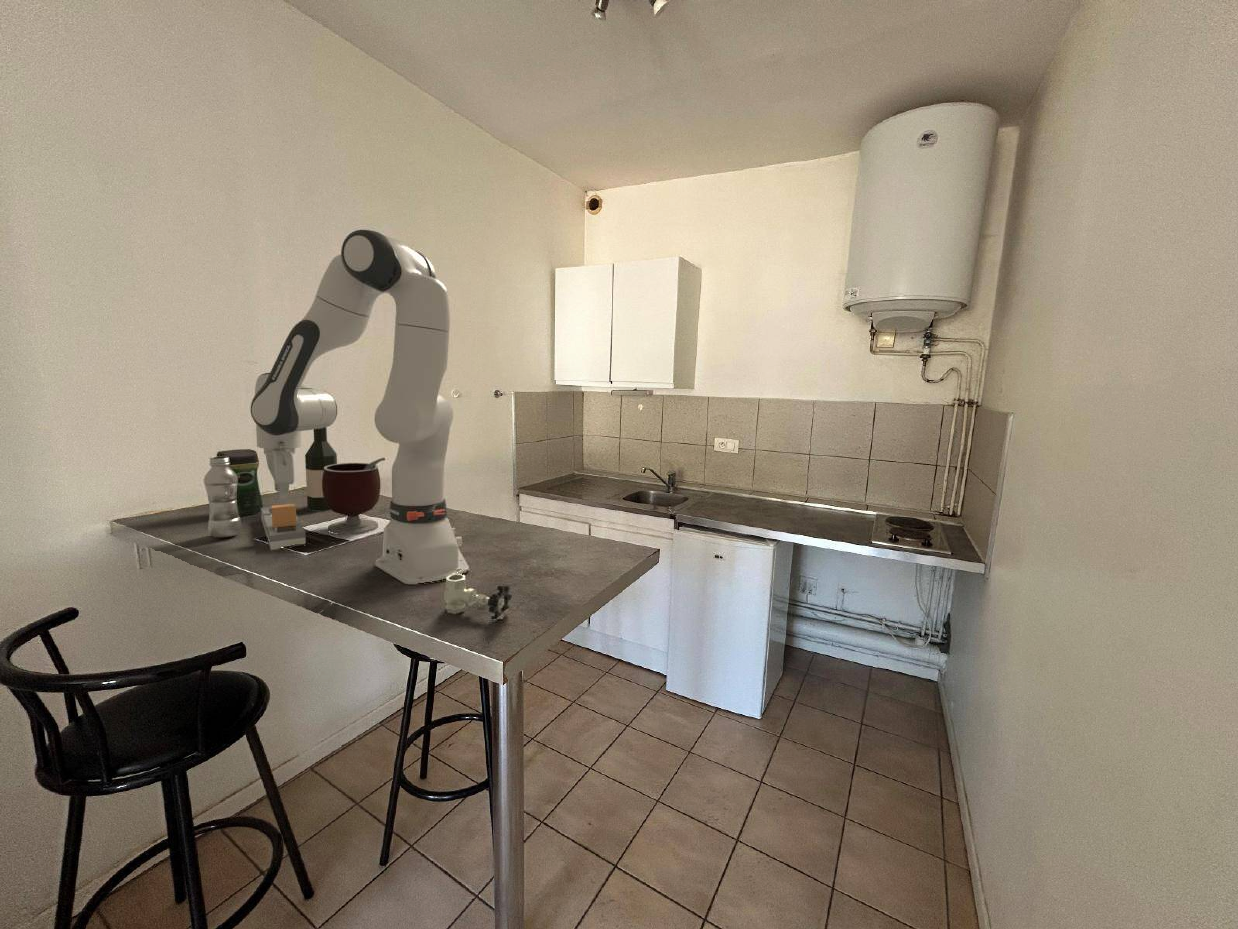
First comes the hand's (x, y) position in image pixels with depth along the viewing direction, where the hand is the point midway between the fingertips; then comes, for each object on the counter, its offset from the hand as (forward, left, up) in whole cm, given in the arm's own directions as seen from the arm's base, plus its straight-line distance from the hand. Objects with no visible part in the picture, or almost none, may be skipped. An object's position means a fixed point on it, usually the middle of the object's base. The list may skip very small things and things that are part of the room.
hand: (281, 495), depth 121 cm
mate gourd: (+2, -17, -12) cm, 21 cm away
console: (+7, 0, -11) cm, 13 cm away
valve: (-62, -24, -12) cm, 67 cm away
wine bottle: (+28, -13, -12) cm, 33 cm away
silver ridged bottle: (+9, +11, -12) cm, 18 cm away
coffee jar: (+31, +7, -12) cm, 34 cm away
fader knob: (0, 0, -9) cm, 9 cm away
